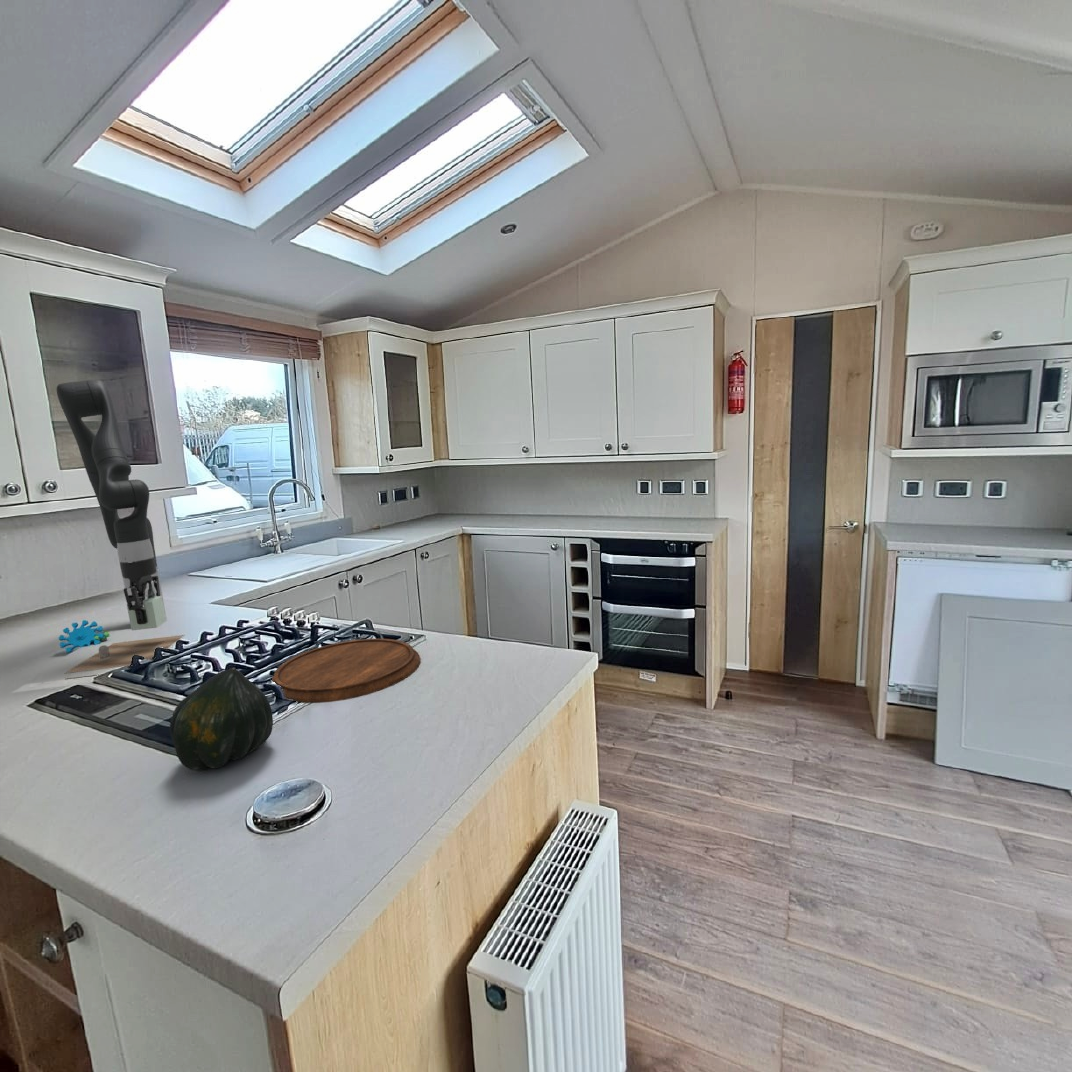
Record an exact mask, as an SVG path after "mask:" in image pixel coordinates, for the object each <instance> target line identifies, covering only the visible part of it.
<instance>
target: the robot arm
mask: <svg viewBox="0 0 1072 1072" xmlns="http://www.w3.org/2000/svg"><path fill="white" fill-rule="evenodd" d="M56 396H57V399H58V402H59V405H60V407H61V409H62V412H63V414H64V416H65V418H66V420H67V422H68V425H69V427H70V429H71V432H72V434H73V436H74V439H75V442H76V443H77V444H76V445H77V446H78V447H77V448H78V450H79V452H80V457H81V459H82V462H83V465H84V468H85V472H86V474H87V476H88V479H89V482H90V484H91V486H92V489H93V493H94V495H95V496H96V499H97V502H98V505H99V507H100V508H99V509H100V512H101V514H102V519H103V524H104V527H105V531H106V535H107V537H108V540H109V542H110V544H111V546H112V547H113V548H114V549H116V551H117V556H118V561H119V567H120V572H121V577H122V580H123V586H124V588H123V593H124V597H125V601H126V606H127V605H128V608H129V610H133V611H135V614H136V619H137V623H138V624H146V623H147V622H148V620H147V615H146V610H145V601H147V598H148V597H155V596H162V597H163V596H164V595H163V591H162V585H161V580H160V575H159V568H158V564H157V557H156V550H155V549H156V548H155V544H154V543H155V542H154V541H155V540H154V532H153V527H152V523H151V521H150V519H149V518H148V517H147V516H148V507H149V502H150V490H149V487H148V485H147V484H146V483H145V481H143V480H140V479H130V477H129V476H130V475H131V473H132V467H131V464H130V460H129V458H128V457H127V453H126V450H125V449H124V445H123V442H122V437H121V433H120V429H119V423H118V419H117V415H116V412H115V407H114V403H113V400H112V397H111V395H110V392H109V389H108V387H107V386H106V384H105V383H104V382H103V381H101V380H100V379H90V380H89V379H88V380H77V381H71V382H62V383H59V384H57V386H56ZM96 416H101V423H100V425H99V427H98V430H97V432H96V434H95V433H94V432H93V431H92V430H91V429H90V428H89V427H88V426H87V424H85V422H84V421H83V420H82V418H88V417H89V418H90V417H96ZM131 508H133V511H132V513H131V514H130V515H127V516H124V517H122V518H121V517H119V512H118V510H122V509H123V510H125V509H131ZM163 598H164V597H163ZM140 601H141V603H140ZM132 602H133V605H132ZM163 602H164V603H165V601H164V600H163ZM164 608H165V609H166V607H165V605H164ZM165 613H166V611H165ZM166 614H167V613H166ZM166 619H167V617H166ZM167 620H168V619H167Z"/></svg>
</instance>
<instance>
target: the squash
mask: <svg viewBox="0 0 1072 1072" xmlns="http://www.w3.org/2000/svg"><path fill="white" fill-rule="evenodd" d="M273 717H274V716H273V713H272V706H271V704H270V701H269V700H268V698H267V696H266V695H265V693H264V692H263V691H262V690H261V689H260V688H259V687H258V686H257V685H256V684H255V683H254V682H252V681H251V680H250V679H248V678H247V676H245V675H244V674H243V673H242V672H241V671H240V670H238V669H236V668H235V667H233V668H228V669H224V670H222V671H220V672H218V673H217V674H214V675H213V676H211V677H210V678H209V679H207V680H206V681H205V682H203V683H202V684H200V686H198V687H197V688H196V689H194V690H193V692H191V693H190V694H189V695H187V696H185V697H184V698H183V699H182V700H181V701H180V702H179V704H178V705H176V707H175V708H174V710H173V713H172V715H171V719H170V722H169V723H170V724H169V733H170V739H171V742H172V743H173V746H174V747H173V748H175V752H176V753H175V754H176V756H177V758H178V761H179V762H180V763H181V764H182V765H183V766H184V767H185V768H186V769H188V770H191V771H201V770H205V769H207V768H210V769H214V770H215V769H219V768H221V767H223V766H224V765H226V764H227V763H228V762H229V761H230V759H231V760H233V761H235V760H240V759H242V758H244V757H245V756H246V755H247V754H249V753H251V752H252V751H255V749H257V748H259V747H261V746H263V745H264V743H266V742H267V740H268V739H269V738H270V736H271V735H272V731H273V726H274V725H273V724H274V718H273Z"/></svg>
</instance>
